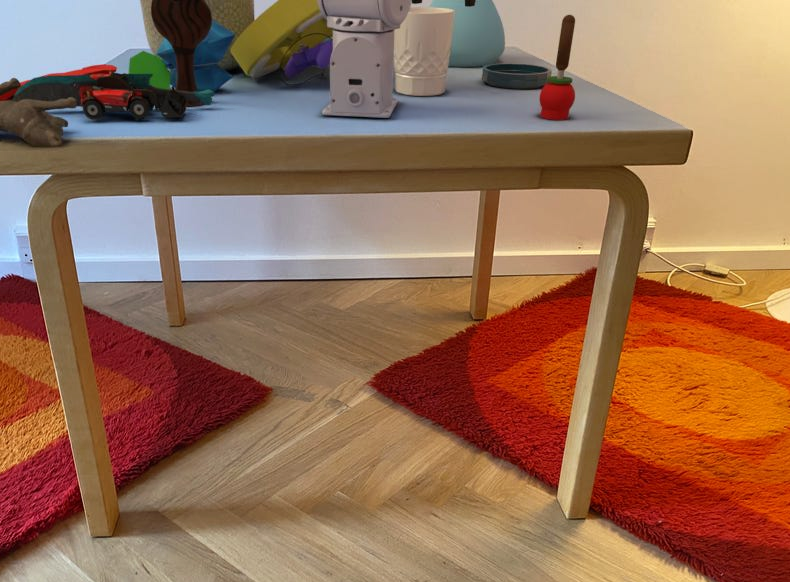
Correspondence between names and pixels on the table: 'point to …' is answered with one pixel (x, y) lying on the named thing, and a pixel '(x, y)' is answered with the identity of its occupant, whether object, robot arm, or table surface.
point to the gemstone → (151, 69)
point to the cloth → (84, 71)
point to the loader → (126, 98)
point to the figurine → (183, 35)
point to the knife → (64, 88)
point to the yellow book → (279, 36)
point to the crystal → (203, 58)
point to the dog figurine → (33, 118)
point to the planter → (227, 8)
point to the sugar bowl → (474, 33)
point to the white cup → (423, 51)
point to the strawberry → (560, 78)
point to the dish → (516, 75)
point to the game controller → (309, 58)
